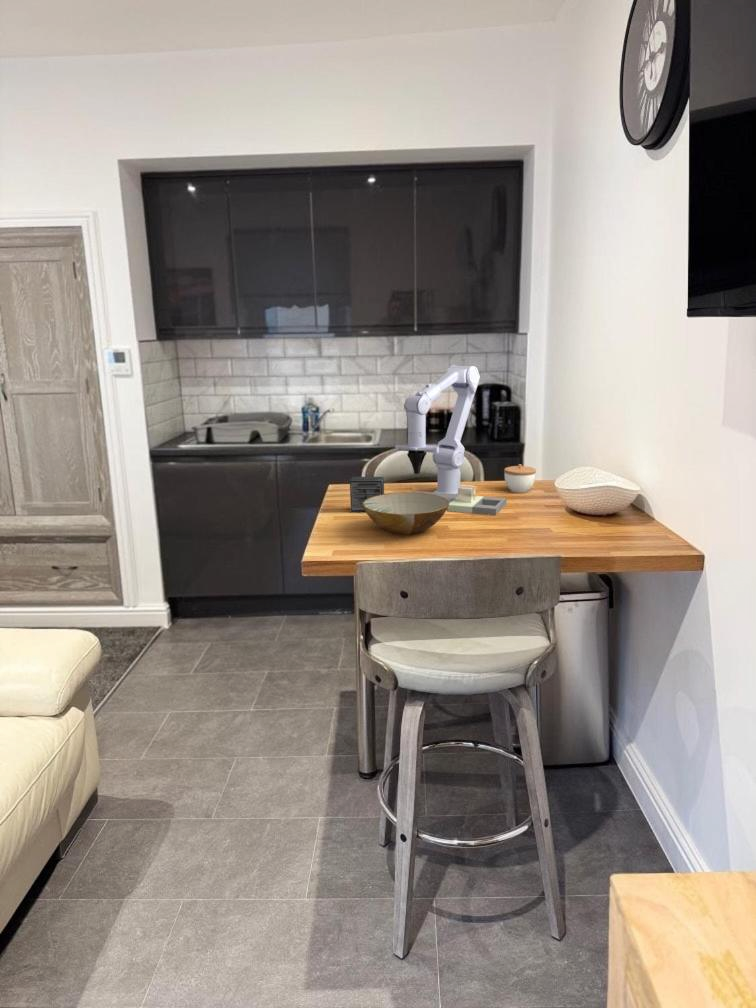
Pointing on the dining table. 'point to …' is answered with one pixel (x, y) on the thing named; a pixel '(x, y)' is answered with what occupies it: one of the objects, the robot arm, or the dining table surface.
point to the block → (466, 493)
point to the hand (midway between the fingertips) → (417, 473)
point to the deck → (477, 506)
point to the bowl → (405, 511)
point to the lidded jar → (519, 478)
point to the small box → (364, 490)
